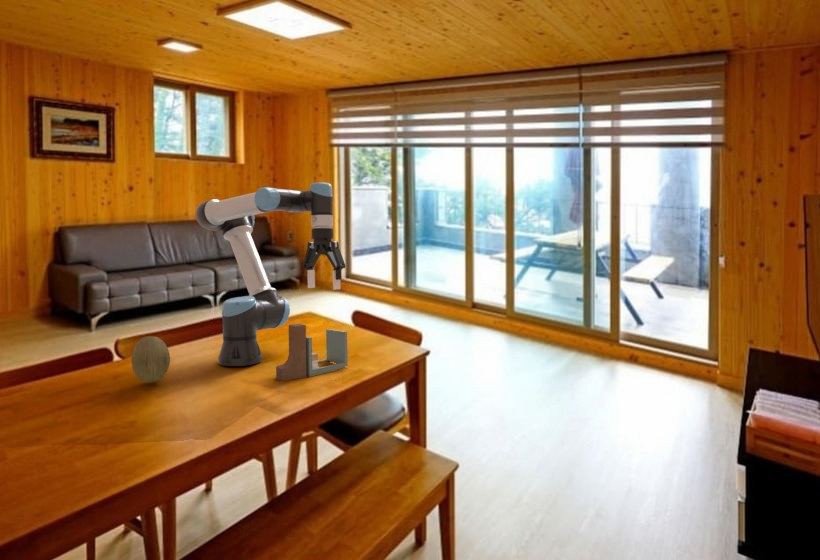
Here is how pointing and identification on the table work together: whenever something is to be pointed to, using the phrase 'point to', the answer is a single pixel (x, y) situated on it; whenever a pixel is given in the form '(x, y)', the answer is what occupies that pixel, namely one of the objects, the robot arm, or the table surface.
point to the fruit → (150, 359)
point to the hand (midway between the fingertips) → (323, 288)
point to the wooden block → (294, 355)
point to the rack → (329, 352)
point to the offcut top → (314, 356)
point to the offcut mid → (314, 363)
